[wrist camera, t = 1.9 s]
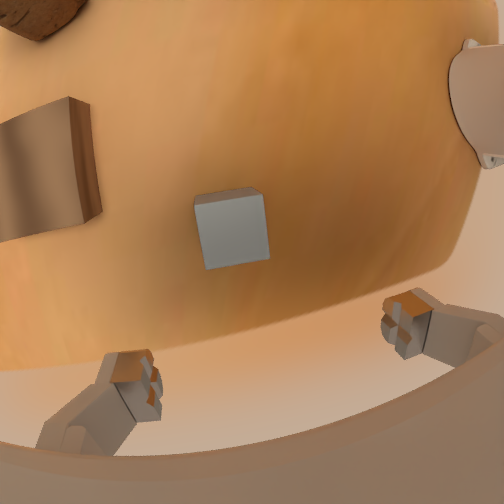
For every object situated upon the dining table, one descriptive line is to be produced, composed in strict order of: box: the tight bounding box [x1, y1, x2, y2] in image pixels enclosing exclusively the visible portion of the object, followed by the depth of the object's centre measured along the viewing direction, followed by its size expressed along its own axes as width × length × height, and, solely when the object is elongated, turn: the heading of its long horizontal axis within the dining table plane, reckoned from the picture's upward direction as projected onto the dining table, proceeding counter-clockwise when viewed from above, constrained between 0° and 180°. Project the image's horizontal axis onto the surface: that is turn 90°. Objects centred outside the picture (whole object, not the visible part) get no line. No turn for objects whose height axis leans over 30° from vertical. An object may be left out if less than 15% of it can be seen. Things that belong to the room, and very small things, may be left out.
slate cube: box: [194, 187, 270, 270], centre depth 24 cm, size 5×5×5 cm
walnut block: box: [0, 96, 103, 243], centre depth 20 cm, size 10×10×5 cm
